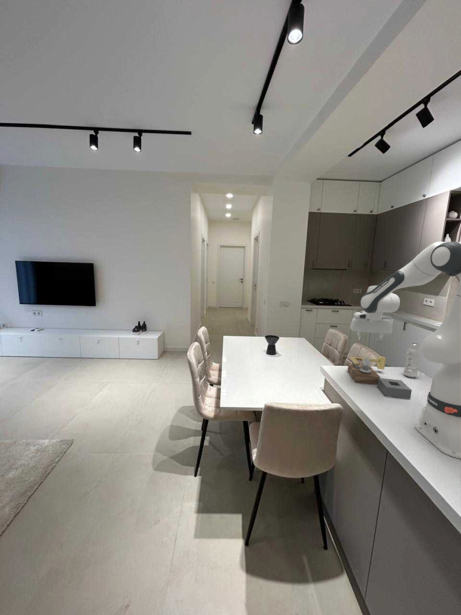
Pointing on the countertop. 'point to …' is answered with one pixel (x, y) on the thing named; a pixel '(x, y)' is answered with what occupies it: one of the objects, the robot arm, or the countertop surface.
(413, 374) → the plastic bottle
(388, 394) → the grey square holed piece
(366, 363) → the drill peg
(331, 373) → the countertop surface
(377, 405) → the countertop surface
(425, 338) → the robot arm
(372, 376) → the socket block
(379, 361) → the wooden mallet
